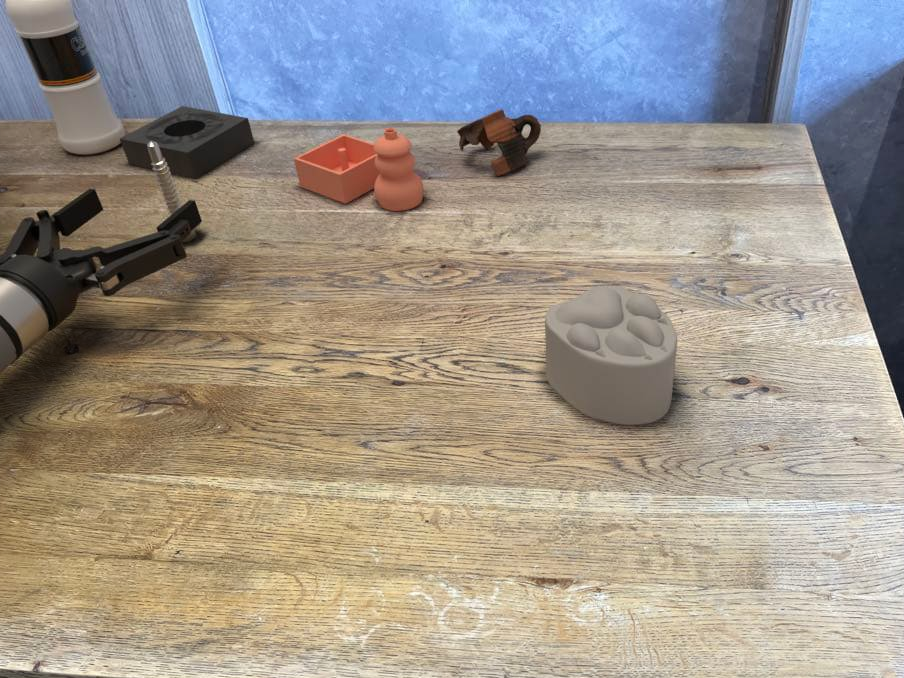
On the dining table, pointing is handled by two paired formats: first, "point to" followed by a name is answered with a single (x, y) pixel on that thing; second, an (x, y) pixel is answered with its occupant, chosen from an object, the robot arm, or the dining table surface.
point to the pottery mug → (502, 138)
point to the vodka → (66, 75)
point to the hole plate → (189, 140)
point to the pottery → (363, 170)
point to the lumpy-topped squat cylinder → (612, 355)
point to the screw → (166, 183)
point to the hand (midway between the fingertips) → (145, 204)
